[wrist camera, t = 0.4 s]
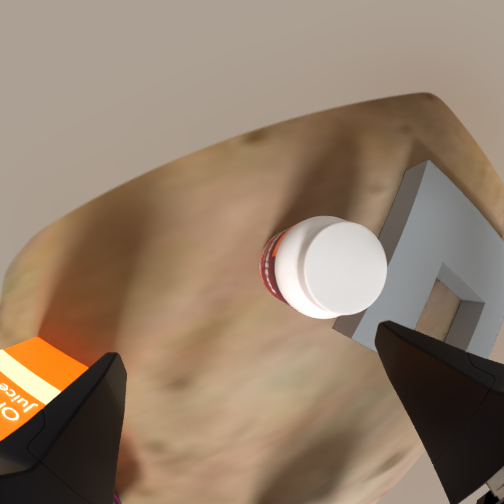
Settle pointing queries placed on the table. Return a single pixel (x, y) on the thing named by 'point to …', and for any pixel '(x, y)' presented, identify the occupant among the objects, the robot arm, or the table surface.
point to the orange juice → (32, 380)
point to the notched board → (436, 264)
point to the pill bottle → (324, 267)
